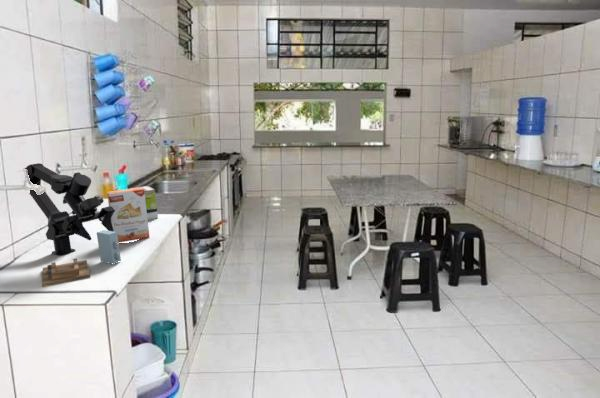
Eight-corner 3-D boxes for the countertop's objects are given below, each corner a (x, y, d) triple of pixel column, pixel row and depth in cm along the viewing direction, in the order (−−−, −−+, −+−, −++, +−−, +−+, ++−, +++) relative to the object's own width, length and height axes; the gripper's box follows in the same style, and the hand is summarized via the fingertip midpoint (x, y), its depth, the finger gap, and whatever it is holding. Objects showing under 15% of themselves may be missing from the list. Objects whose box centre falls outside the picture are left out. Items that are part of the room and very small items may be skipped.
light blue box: (101, 261, 172) (96, 232, 170) (108, 259, 175) (104, 230, 173) (115, 264, 168) (111, 234, 166) (123, 262, 171) (119, 232, 169)
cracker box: (115, 244, 195) (107, 193, 190) (113, 240, 200) (106, 191, 196) (150, 237, 201) (144, 188, 197) (147, 234, 206) (141, 186, 202)
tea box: (159, 218, 235) (155, 188, 232) (138, 222, 230) (134, 191, 227) (151, 213, 248) (148, 185, 245) (131, 216, 243) (127, 187, 240)
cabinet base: (43, 270, 167) (41, 262, 166) (86, 262, 173) (85, 254, 172) (42, 286, 151) (40, 277, 150) (90, 277, 157) (88, 268, 156)
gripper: (61, 194, 163) (85, 228, 160) (108, 184, 179) (131, 215, 175) (51, 215, 169) (75, 248, 165) (98, 204, 185) (120, 234, 181)
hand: (102, 235), depth 172 cm, fingers open, 9 cm apart
